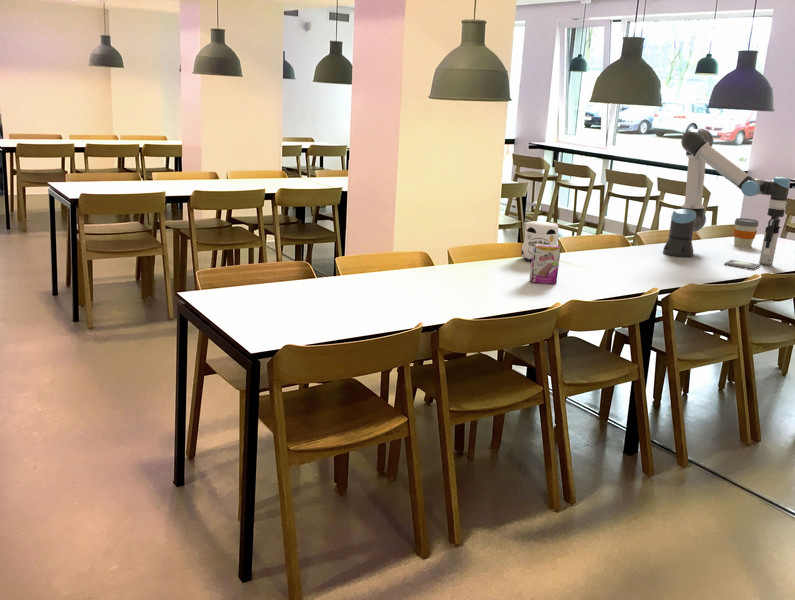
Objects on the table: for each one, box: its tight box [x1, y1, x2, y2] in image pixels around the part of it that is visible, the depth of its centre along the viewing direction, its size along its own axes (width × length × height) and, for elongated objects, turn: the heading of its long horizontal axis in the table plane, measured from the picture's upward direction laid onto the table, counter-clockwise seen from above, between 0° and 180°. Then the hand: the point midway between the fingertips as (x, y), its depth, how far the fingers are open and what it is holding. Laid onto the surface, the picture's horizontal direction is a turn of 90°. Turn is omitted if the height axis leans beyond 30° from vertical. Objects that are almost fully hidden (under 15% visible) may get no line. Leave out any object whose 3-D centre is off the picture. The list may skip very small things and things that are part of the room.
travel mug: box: [758, 226, 781, 266], centre depth 389 cm, size 6×7×20 cm
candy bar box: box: [528, 244, 562, 285], centre depth 328 cm, size 11×5×16 cm, turn 92°
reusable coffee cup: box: [733, 217, 759, 248], centre depth 438 cm, size 13×13×15 cm
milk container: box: [521, 220, 559, 262], centre depth 371 cm, size 17×17×18 cm
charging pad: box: [723, 259, 761, 270], centre depth 386 cm, size 14×12×1 cm
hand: (768, 253), depth 391 cm, fingers closed on travel mug, 6 cm apart
